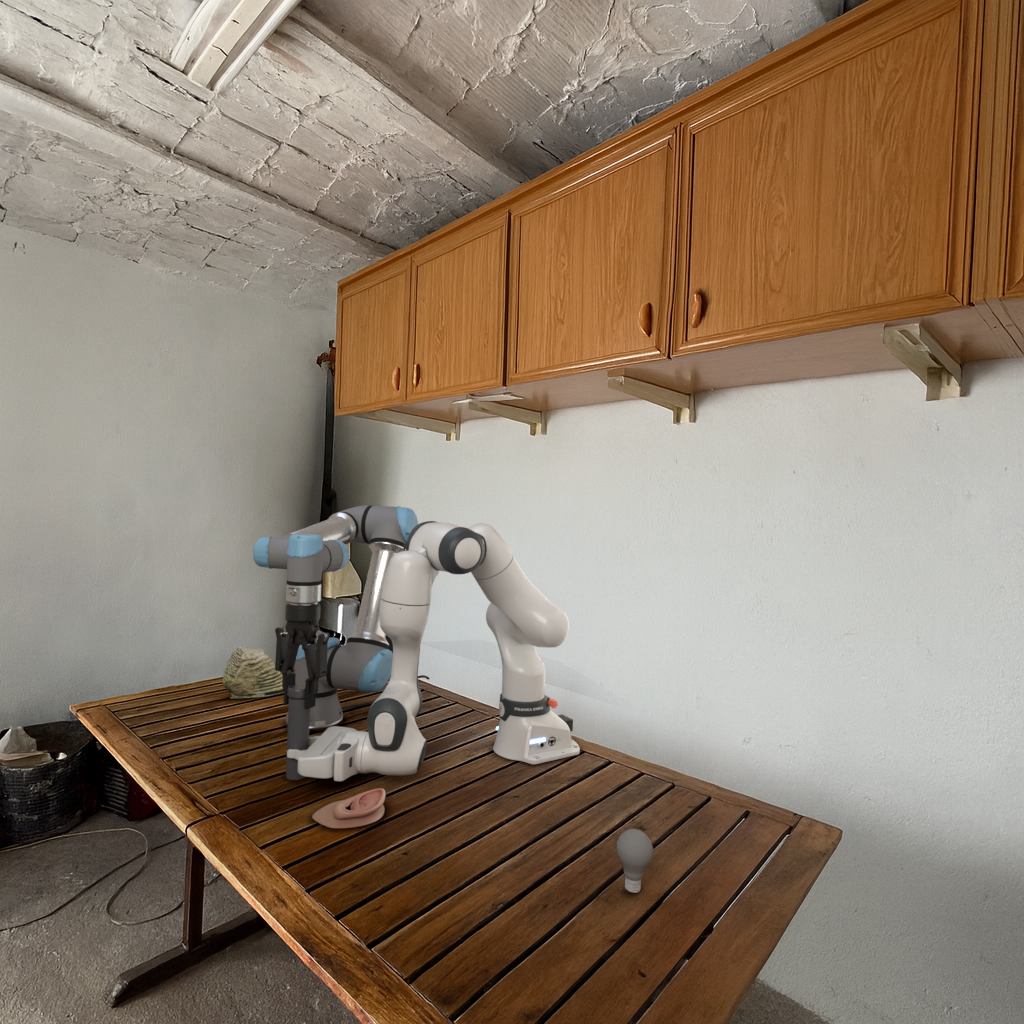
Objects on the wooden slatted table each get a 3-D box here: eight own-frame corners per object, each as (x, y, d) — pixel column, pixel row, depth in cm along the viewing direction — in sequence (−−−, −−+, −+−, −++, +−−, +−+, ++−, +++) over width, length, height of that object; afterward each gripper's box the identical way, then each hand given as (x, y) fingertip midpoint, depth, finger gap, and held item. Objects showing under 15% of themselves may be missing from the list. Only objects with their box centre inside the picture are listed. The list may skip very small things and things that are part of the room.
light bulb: (610, 879, 108) (613, 822, 108) (644, 879, 109) (647, 822, 109) (619, 902, 102) (622, 840, 102) (655, 901, 103) (658, 840, 103)
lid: (307, 698, 140) (308, 689, 140) (283, 697, 140) (284, 688, 140) (315, 691, 146) (315, 682, 146) (292, 690, 146) (292, 681, 146)
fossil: (218, 695, 195) (220, 647, 195) (278, 685, 208) (279, 640, 207) (228, 703, 189) (230, 653, 188) (289, 692, 201) (290, 645, 201)
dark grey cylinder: (281, 776, 143) (284, 689, 142) (299, 769, 146) (302, 684, 146) (294, 782, 140) (297, 693, 140) (311, 775, 144) (315, 689, 143)
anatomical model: (304, 803, 122) (333, 778, 133) (303, 824, 122) (332, 797, 133) (368, 813, 119) (392, 787, 131) (368, 834, 119) (391, 806, 131)
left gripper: (259, 600, 142) (255, 703, 143) (325, 609, 136) (321, 717, 136) (283, 596, 149) (279, 694, 150) (347, 604, 143) (343, 707, 143)
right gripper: (367, 721, 153) (311, 717, 153) (339, 755, 132) (275, 750, 133) (366, 747, 153) (310, 743, 154) (338, 785, 132) (273, 780, 133)
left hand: (299, 705), depth 143 cm, fingers closed on lid, 5 cm apart
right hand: (293, 747), depth 143 cm, fingers closed on dark grey cylinder, 5 cm apart
